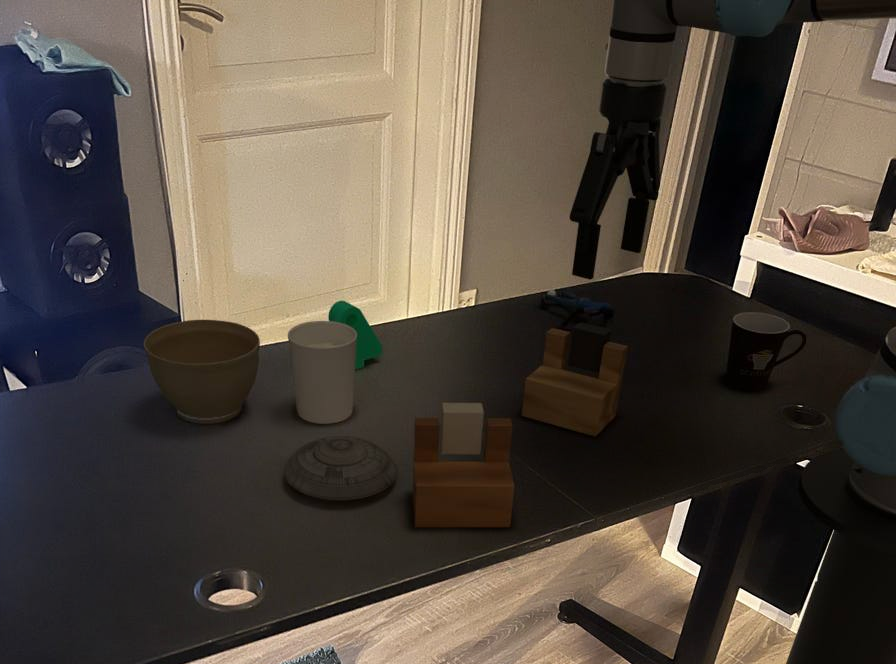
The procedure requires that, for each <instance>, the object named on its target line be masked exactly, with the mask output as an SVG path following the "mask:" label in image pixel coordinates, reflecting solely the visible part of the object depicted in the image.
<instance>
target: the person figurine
mask: <svg viewBox="0 0 896 664" xmlns="http://www.w3.org/2000/svg"><path fill="white" fill-rule="evenodd" d="M564 298H566V299H564ZM548 301H550V302H553V303H556V304H557V305H559V306H562V307H565V308H566V309H568V310H572V311H573V312H572V313H571V314H570V315H569V316H568V317H567V319H566V320H564V321H563V322H561V323H560V325H559V327H560V329H561V328H562V329H561V330H563V329H564V328H565V327H566V328H567V327H568V324H569V322H571V320H573V319H574V318H575V317H576V316H578V315H582V314H587V315H588V317H589V318H591V317H596V316H600V315H603V318H604V319H605V320H611V319H613V318H614V316H615V310H614V309H613V308H612V306H611V303H610V302H609V301H608V302H604V301H599V302H594V301H593V300H591V298H590V297H586V296H585V297H582V296H576V295H575V294H574V293H571V292H568V291H564V290H563V289H558V291H557V292H556V291H555V289H549V290H548V291H547V293H545V292H542V293H541V297H540V307H541V308H543V309H544V308H545V307H546V305H547V303H548Z"/></svg>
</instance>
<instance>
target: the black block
mask: <svg viewBox="0 0 896 664" xmlns="http://www.w3.org/2000/svg"><path fill="white" fill-rule="evenodd" d="M611 335H612V329H611V328H607V327H603V326H599V325H594V324H590V323H586V322H582V321H580V322H579V323H577V324H576V325H574V327H572V334H571V340H570V347H569V356H568V363H567V365H568V366H571V367H574V368H578V369H581V370H587V371H589V372H593V373H594V372H595V373H598V374H599V372H600V365H601V359H602V352H603V346H604V345H605V344H606V343H608V342H611Z"/></svg>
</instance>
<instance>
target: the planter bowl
mask: <svg viewBox="0 0 896 664" xmlns="http://www.w3.org/2000/svg"><path fill="white" fill-rule="evenodd" d="M260 339H261V338H260V336H259V335H258V333H257V332H256V331H254V330H253V329H252V328H250V327H248V326H246V325H243V324H241V323H237V322H233V321H229V320H228V321H226V320H218V319H190V320H183V321H177V322H173V323H170V324H165V325H163V326H160V327H158V328H156V329H154V330H152V331H151V332H149V334H148V335H146V337H145V338H144V340H143V349H144V352H145V354H146V357H147V362H148V366H149V370H150V372H151V375H152V378H153V380H154V382H155V384H156V385H157V387H158V389H159V391H160V392H161V394H162V395H163V396H164V398H165V399H166V400H167V401H168V402H169V403H170V404H171V405H172V406H173V407H174V409H175V408H176V409H177V410H178V411H180V412H181V413H183V414H185V415H189V416H190V417H197V418H213V417H221V416H225V415H228V414H231V413H233V412H235V411H237V410H238V409H239V408H240V407H241V408H240V409H239V410H238V411H237V412H236V413H234V414H232V415H230V416H227V417H224V418H219V419H213V420H198V419H191V418H187V417H185V416H182V415H181V414H179V413H178V412H177V411H176V409H175V411H176V414H177V416H179V417H180V419H182V420H184V421H187V422H190V423H194V424H201V425H203V424H205V425H207V424H208V425H209V424H210V425H213V424H220V423H224V422H226V421H229V420H232V419H234V418H236V417H237V416H238V415H239V414H240V413H241V411H242V408H243V403H244V401H245V400H246V399H247V397H248V396H249V394H250V392H251V390H252V389H253V386H254V385H255V382H256V381H255V380H256V378H257V374H258V369H259V357H260V355H259V351H260V347H261V340H260ZM241 405H242V406H241Z"/></svg>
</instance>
